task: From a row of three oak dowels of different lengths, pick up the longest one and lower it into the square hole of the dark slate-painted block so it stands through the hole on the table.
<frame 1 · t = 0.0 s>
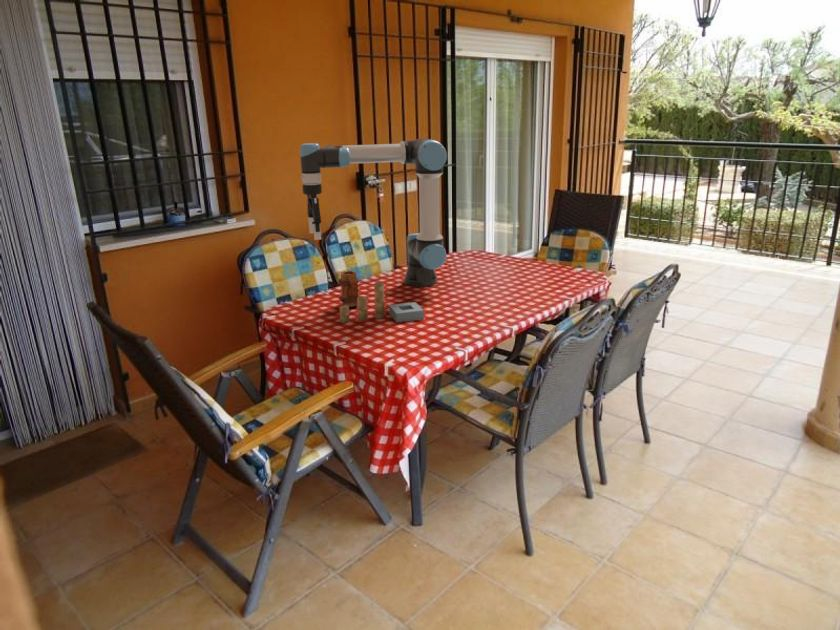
hand: (315, 236, 256), 28 cm above the table, fingers open, 13 cm apart
mug: (351, 308, 257), on the table
dowel medium: (362, 319, 243), on the table
dowel long: (380, 317, 245), on the table
dowel short: (345, 321, 241), on the table
hole block: (406, 316, 246), on the table
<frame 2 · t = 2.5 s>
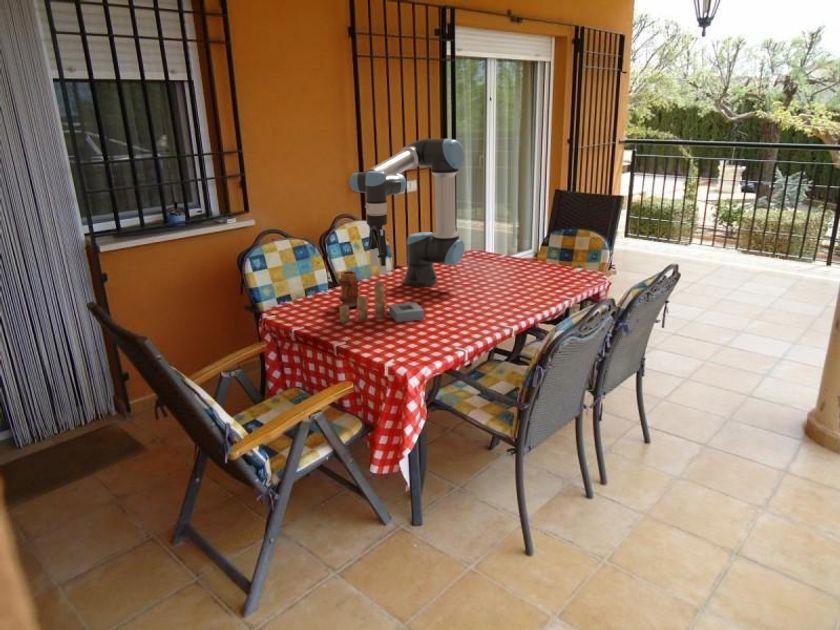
hand: (378, 269, 238), 19 cm above the table, fingers open, 13 cm apart
nothing on the table moved.
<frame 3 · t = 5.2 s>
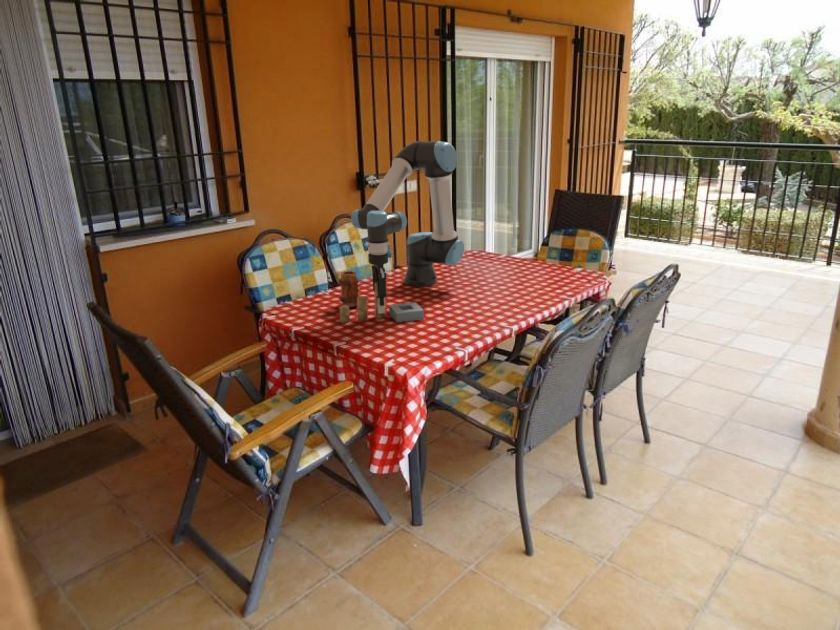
hand: (380, 311, 244), 3 cm above the table, fingers closed on dowel long, 3 cm apart
dowel long: (380, 317, 245), on the table, touching gripper
everything else where it was.
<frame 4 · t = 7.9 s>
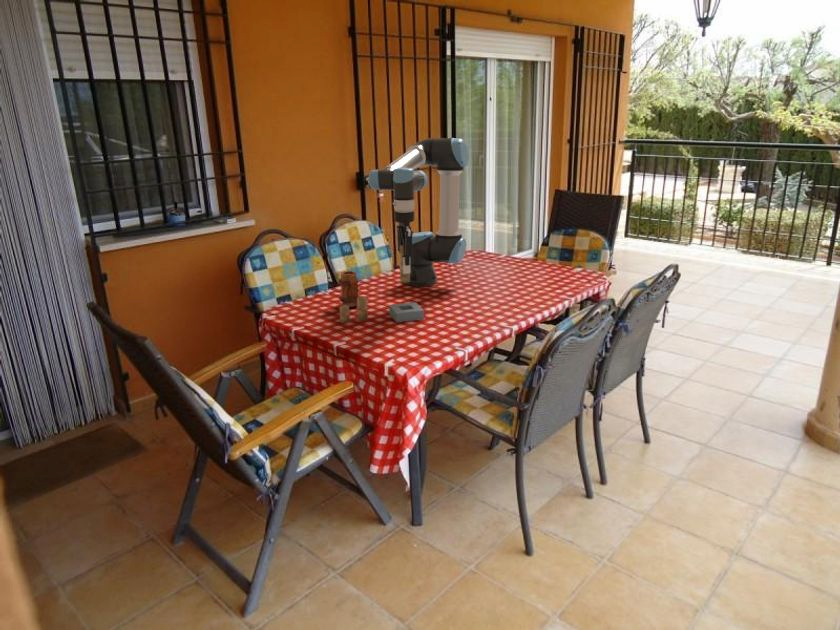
hand: (405, 271, 239), 18 cm above the table, fingers closed on dowel long, 3 cm apart
dowel long: (405, 281, 241), point 14 cm above the table, touching gripper
everything else where it was.
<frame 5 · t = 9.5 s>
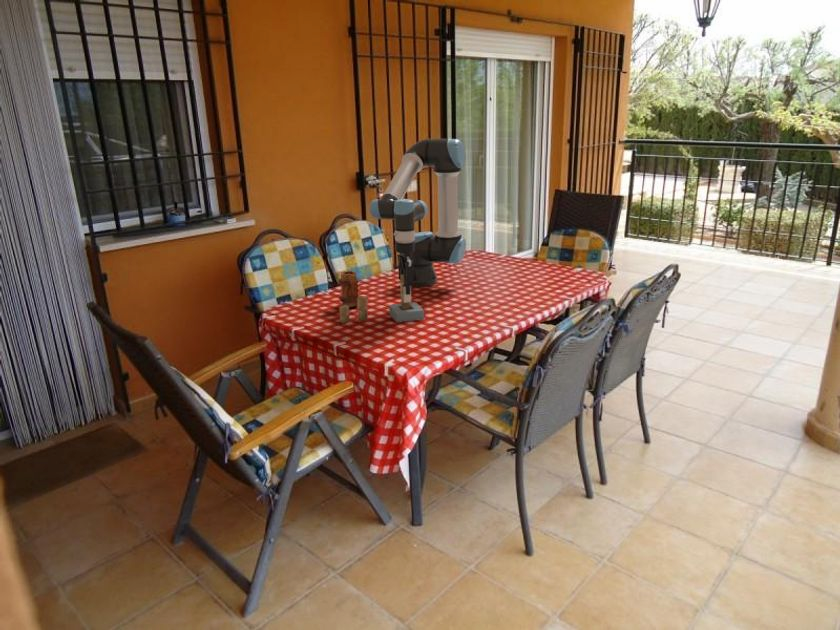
hand: (405, 300, 243), 7 cm above the table, fingers closed on dowel long, 3 cm apart
dowel long: (405, 309, 244), point 3 cm above the table, touching gripper
everything else where it was.
when the fingers open (5 cm above the table, at t = 10.8 s): dowel long stays where it is, resting in hole block.
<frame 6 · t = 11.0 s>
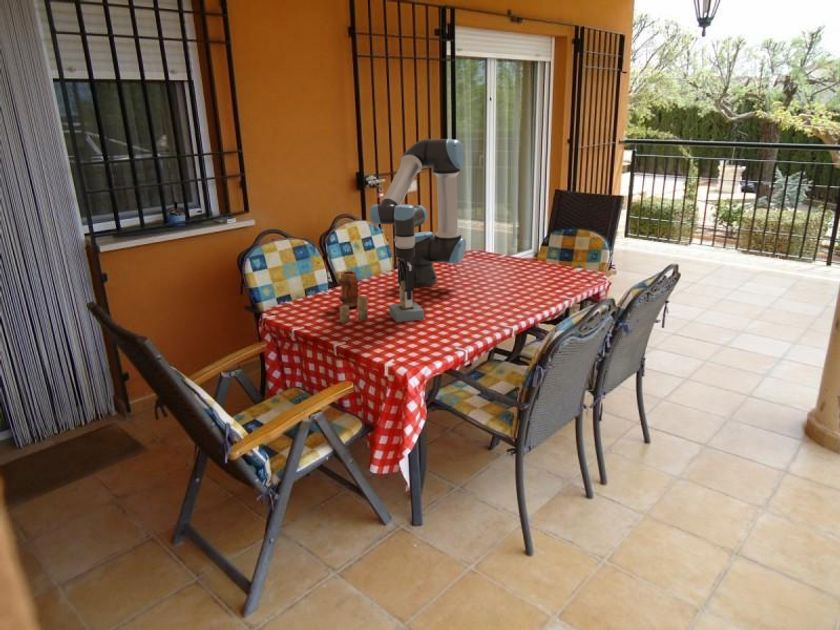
hand: (406, 304, 244), 5 cm above the table, fingers open, 7 cm apart
dowel long: (406, 316, 246), resting in hole block
everything else where it was.
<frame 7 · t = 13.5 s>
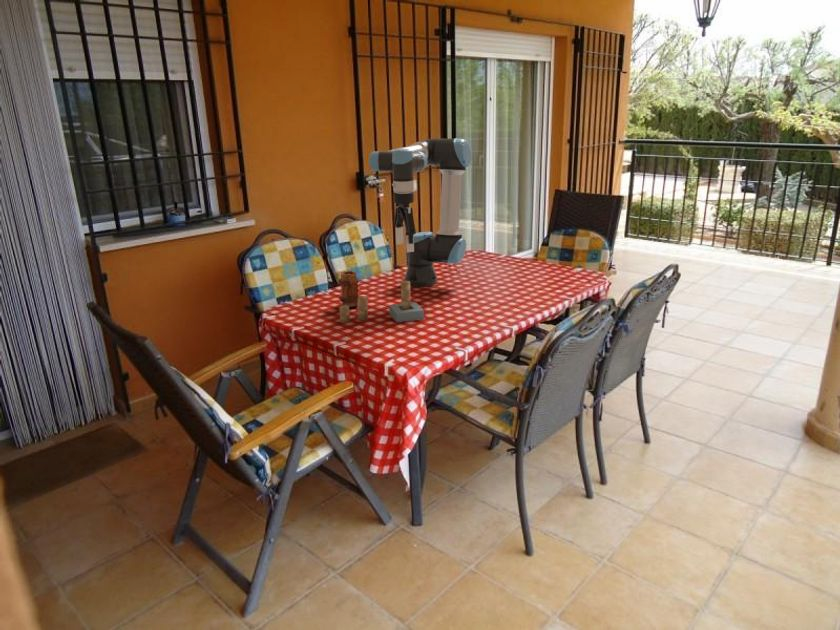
hand: (404, 247, 240), 27 cm above the table, fingers open, 13 cm apart
nothing on the table moved.
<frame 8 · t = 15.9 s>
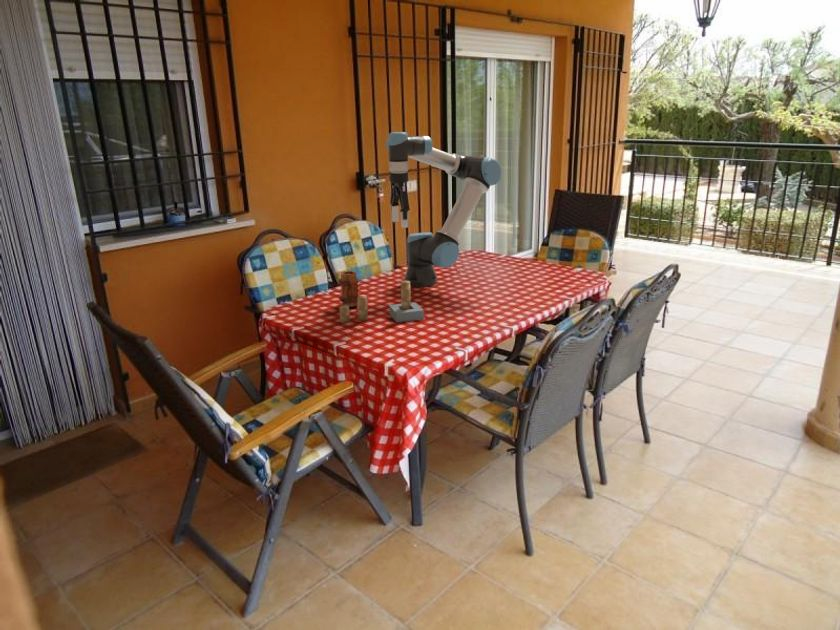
hand: (399, 224, 258), 32 cm above the table, fingers open, 13 cm apart
nothing on the table moved.
at the end: dowel long 0.1 cm off-centre on the hole block, point 0.0 cm above the hole block's base; dowel long tilted 0°; the gripper is holding nothing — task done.
